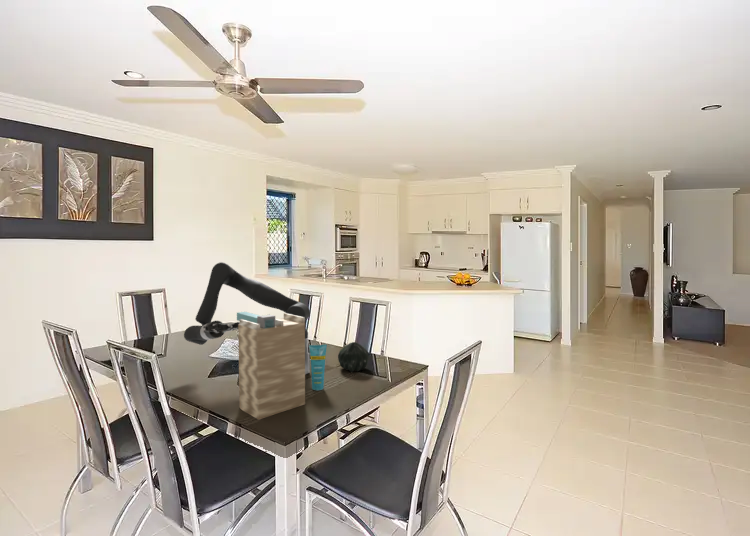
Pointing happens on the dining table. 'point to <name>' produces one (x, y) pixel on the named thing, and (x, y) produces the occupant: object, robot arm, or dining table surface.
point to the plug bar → (258, 319)
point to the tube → (317, 365)
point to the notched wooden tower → (271, 366)
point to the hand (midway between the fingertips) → (230, 325)
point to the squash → (353, 357)
